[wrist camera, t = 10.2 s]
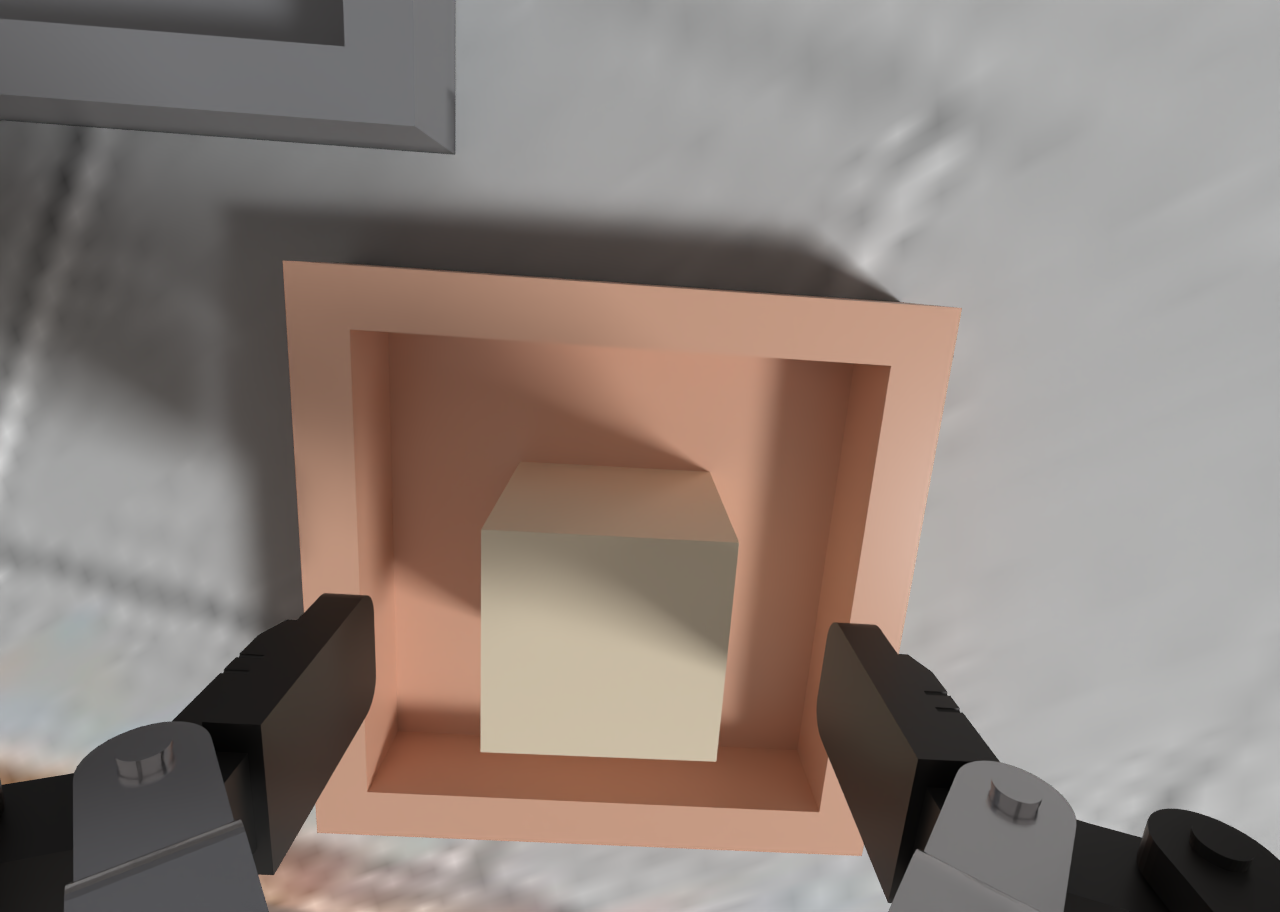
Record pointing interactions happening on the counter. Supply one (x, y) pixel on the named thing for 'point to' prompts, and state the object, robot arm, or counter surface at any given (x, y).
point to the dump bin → (620, 437)
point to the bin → (237, 68)
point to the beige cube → (606, 613)
